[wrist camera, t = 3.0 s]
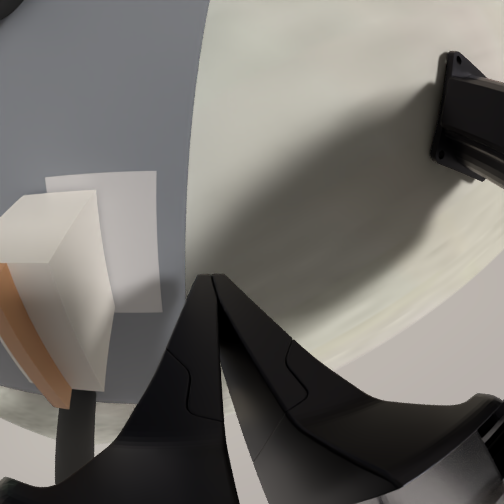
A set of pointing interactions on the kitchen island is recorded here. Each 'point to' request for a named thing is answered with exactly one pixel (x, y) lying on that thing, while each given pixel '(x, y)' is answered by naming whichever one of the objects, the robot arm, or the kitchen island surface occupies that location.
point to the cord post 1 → (8, 7)
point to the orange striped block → (56, 293)
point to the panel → (108, 152)
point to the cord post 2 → (75, 434)
